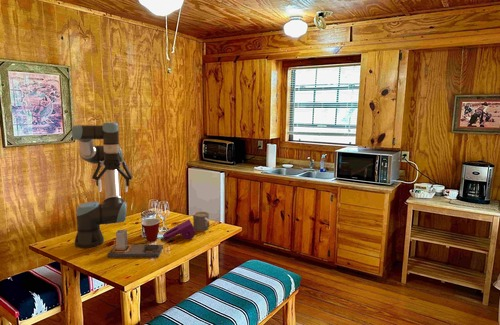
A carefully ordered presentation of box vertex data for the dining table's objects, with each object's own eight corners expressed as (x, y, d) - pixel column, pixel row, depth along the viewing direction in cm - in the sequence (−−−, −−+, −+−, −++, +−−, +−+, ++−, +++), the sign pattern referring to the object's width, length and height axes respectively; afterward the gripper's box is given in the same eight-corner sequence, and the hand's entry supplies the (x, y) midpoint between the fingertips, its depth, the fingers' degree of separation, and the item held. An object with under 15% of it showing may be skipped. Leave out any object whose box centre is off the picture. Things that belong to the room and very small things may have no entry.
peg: (116, 254, 182) (115, 232, 180) (119, 250, 186) (118, 229, 184) (125, 254, 182) (124, 232, 180) (127, 250, 187) (126, 229, 185)
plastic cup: (140, 238, 204) (139, 219, 202) (158, 236, 209) (157, 217, 207) (143, 245, 194) (143, 225, 193) (162, 242, 200) (162, 222, 198)
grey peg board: (107, 257, 178) (107, 253, 178) (115, 248, 190) (115, 244, 190) (158, 257, 180) (158, 253, 179) (163, 248, 191) (163, 244, 191)
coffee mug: (191, 227, 225) (190, 212, 223) (205, 225, 230) (205, 210, 229) (198, 234, 214) (198, 218, 212) (213, 231, 219) (213, 216, 217)
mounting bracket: (169, 250, 203) (197, 235, 206) (163, 238, 201) (190, 224, 204) (169, 244, 212) (195, 230, 215) (162, 233, 210) (189, 219, 213)
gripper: (84, 152, 174) (86, 193, 178) (133, 153, 176) (135, 193, 179) (90, 151, 182) (92, 190, 185) (137, 151, 183) (139, 190, 186)
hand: (113, 192), depth 182 cm, fingers open, 13 cm apart
